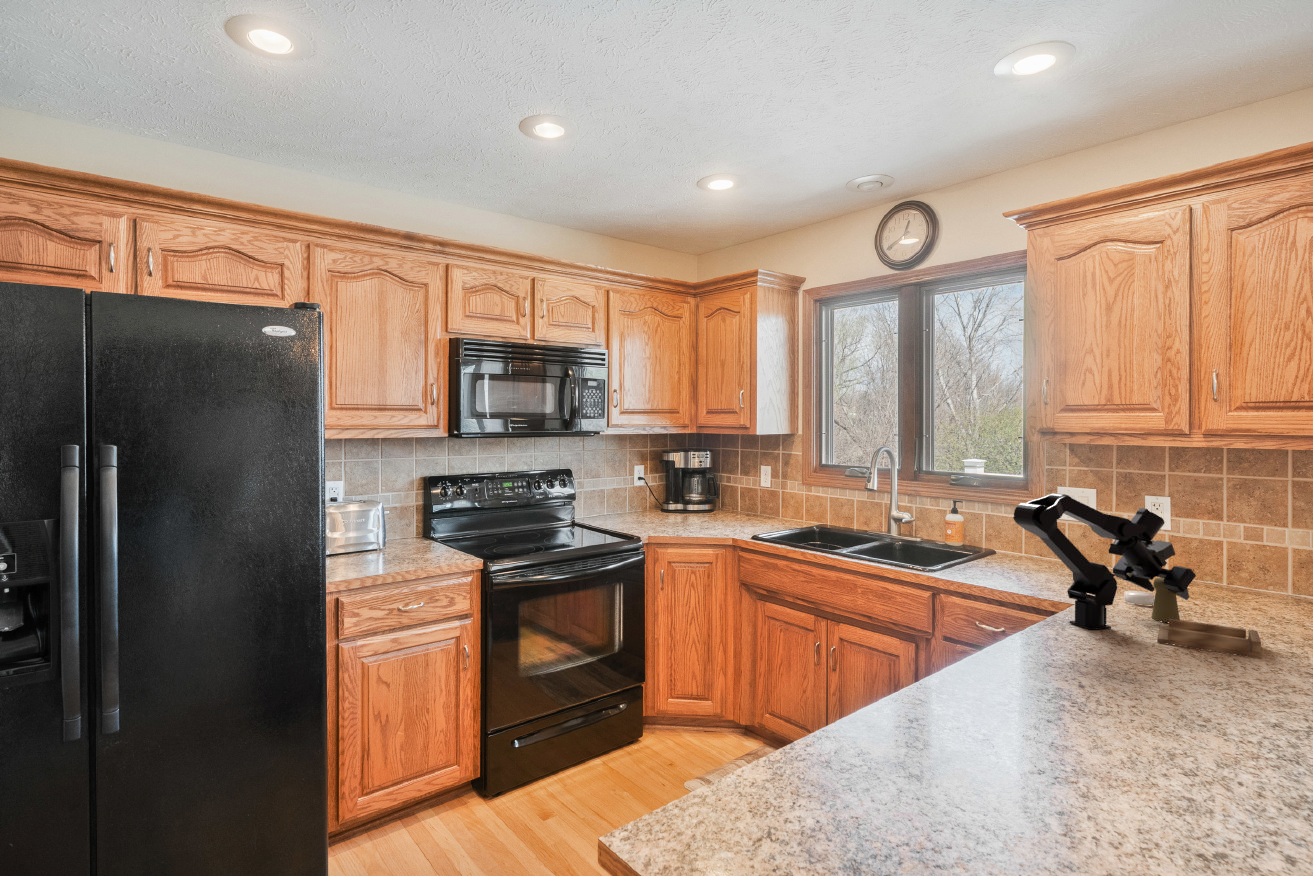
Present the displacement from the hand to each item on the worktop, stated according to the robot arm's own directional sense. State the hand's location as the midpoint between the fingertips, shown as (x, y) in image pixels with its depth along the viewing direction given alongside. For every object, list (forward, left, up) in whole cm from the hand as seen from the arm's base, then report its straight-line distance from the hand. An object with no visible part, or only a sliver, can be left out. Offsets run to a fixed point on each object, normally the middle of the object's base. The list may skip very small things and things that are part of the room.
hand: (1169, 594), depth 175 cm
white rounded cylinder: (+9, +16, -7) cm, 19 cm away
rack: (-11, -18, -7) cm, 22 cm away
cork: (-1, 0, -7) cm, 7 cm away
